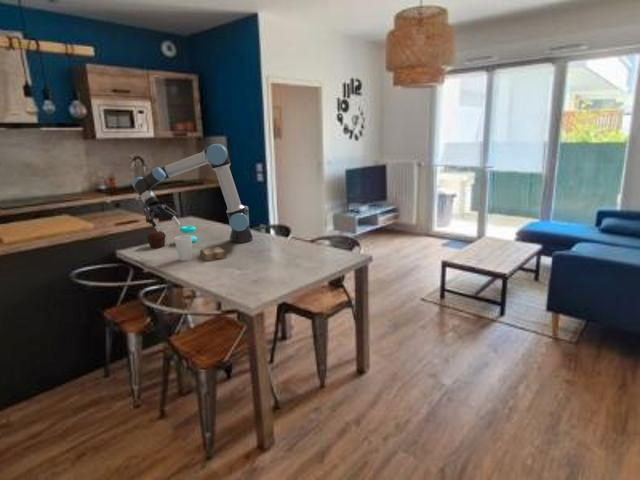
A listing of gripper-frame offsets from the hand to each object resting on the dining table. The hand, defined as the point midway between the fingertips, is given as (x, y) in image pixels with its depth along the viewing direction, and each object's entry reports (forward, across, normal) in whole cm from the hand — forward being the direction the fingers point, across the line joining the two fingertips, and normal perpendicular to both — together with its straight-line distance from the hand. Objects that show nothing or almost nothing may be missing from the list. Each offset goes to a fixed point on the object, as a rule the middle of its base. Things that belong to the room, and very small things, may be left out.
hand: (169, 228), depth 237 cm
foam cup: (+20, 0, -4) cm, 21 cm away
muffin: (-6, -9, -30) cm, 32 cm away
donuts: (0, -27, -24) cm, 36 cm away
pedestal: (+28, -11, +4) cm, 30 cm away
